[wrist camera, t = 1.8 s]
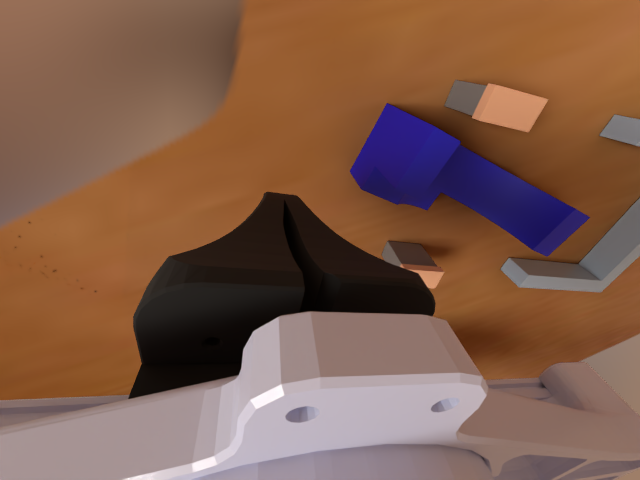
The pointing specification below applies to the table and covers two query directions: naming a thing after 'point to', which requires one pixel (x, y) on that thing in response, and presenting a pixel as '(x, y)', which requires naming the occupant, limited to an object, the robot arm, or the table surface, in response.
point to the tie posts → (483, 106)
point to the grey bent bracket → (606, 256)
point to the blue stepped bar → (457, 180)
